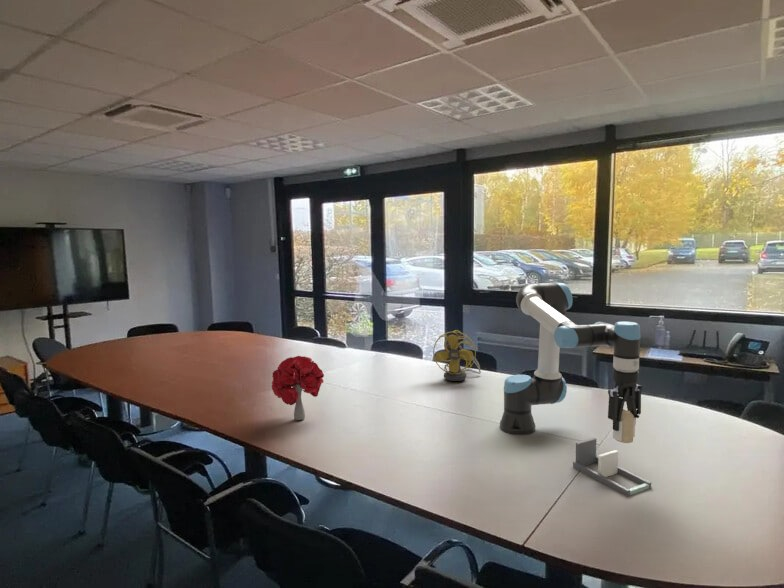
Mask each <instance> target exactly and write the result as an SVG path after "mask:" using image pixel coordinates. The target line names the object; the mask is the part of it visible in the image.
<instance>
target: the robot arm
mask: <svg viewBox="0 0 784 588" xmlns="http://www.w3.org/2000/svg"><path fill="white" fill-rule="evenodd" d="M515 300H516V301H515V302H516V305H517V308H518V309H519V310H520V311H521V312H522V313H523V314H525V315H526V316H531V317H532V318H533V319H534V320H536V321H537V322H538V323H539V337H538V338H539V339H538V357H537V358H538V359H537V369H536V370H534V372H533V377H531V375H527V374H513V375H510V376H507V377H506V378H505V380H504V384H503V412H502V416H501V419H500V422H499V429H500V430H501V431H502V432H504V433H507V434H510V435H515V436H526V435H531V434H533V433H535V432H536V423H535V420H534V417H533V414H532V406H536V405H537V406H540V405H554V404H557V403H561V402H563V401H564V400H565V399H566V396H567V392H568V391H567V389H568V387H567V385H566V384H567V382H566V380H565V378H564V377H563V376H562V375H563V374H562V373H560V371H559V366H560V353H561V352H560V350H561V349H573V348H574V349H575V348H585V347H586V348H587V347H589V348H590V347H601V346H602V347H603V346H605V347H610V348H612V349H613V361H612V362H613V363H612V367H613V369H612V379H613V380H614V382H615V384H614V387H613V389H608V391H607V393H608V410H607V419H609V420H610V421H612V430H613V431H612V439H613V440H615V439H616V440H615V441H617V440H619V441H622V421H620V420H621V416H622V411H623V409H624V406H625V403H626V408H627V411H630V412H631V413H632V414H633V415H634V430H633V438H635V437H636V436H635V435H636V434H635V433H636V425H637V424H636V422H637V421H636V420H637V419H639V418H640V415H641V413H642V390H643V385H640V384H638V383H639V382H640V381H639V379H640V372H639V370H640V353H641V338H642V335H641V325H640V324H639V323H637V322H635V321H624V320H623V321H617V322H615V323H614V324H613V323H608V322H606V321H604V322H603V321H596V322H594V323H593V324H576V323H575V322H574V321H572V320H571V319H569V318H568V317H566V314H567V313H566V312H567V310H569V309H571V308H572V306H573V301H574V300H573V294H572V292H571V289H570V288H569V286H568V285H567V284H566V283H563V282H555V281H554V282H543V283H542V282H541V283H529V284H526V285H524V286H523V287H522V288H520V289H519V291H518V292H517V294H516V297H515ZM619 441H618V442H619Z"/></svg>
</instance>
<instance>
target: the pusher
mask: <svg viewBox="0 0 784 588" xmlns="http://www.w3.org/2000/svg"><path fill="white" fill-rule="evenodd" d="M597 456H598V463H597V473H599V474H601V475H603V476H605V477H607V478H608V477H611V476H613V475H617V474H618V473H617V470H618V466H619V465H618V464H619V451H618V450H616V449H614V450H611V451H607V452H604V453H600V454H598V455H597Z"/></svg>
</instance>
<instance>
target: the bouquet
mask: <svg viewBox="0 0 784 588" xmlns="http://www.w3.org/2000/svg"><path fill="white" fill-rule="evenodd" d="M324 377H325V374H324V372H323V369H321V368H320V367H319V366H318V363H316V362H315V361H314V360H313V359H312V358H311V357H307V356H301V355H297V356H290V357H287V358H285V359H284V360H283V361H281V363H279V364H278V366H277V369H275V370H273V372H272V381H271V389H272V392H273V394H274V395H275V396H276V397H277V398H278V399H281V401H282V402H283V403H284V404H285V405H289V406H294V410H293V419H294V420H296V421H300V420H304V419H305V418H306V412H305V408H304V405H303V401H302V392H303V393H306V394H309V395H311V396H313V397H315V398H317V397H318V396H319V392H320V389H321V387H322V384H323V383H324V379H323V378H324Z"/></svg>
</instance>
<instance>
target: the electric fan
mask: <svg viewBox="0 0 784 588" xmlns="http://www.w3.org/2000/svg"><path fill="white" fill-rule="evenodd" d="M450 333H452V334H450ZM453 333H454V334H453ZM447 334H450V335H447ZM455 334H456V335H455ZM441 338H446V339H445V340H444V344H443V347H444V350H442V351H437V352H435V348H436V345H437V343H438V341H439V340H440V339H441ZM467 338H468V340H469V341H468V340H466V339H467ZM459 340H462V341H459ZM447 342H448V343H447ZM461 344H466V345H468V347H470V348H473V349H474V353H473V351H471V350H468V349H463V347H462V345H461ZM432 349H433V350H432V352H433V353H432V354H433V355H432V356H433V358H434V359H433V362H435V363H436V365H437V366H438V367H439V368H440V369H441V370H442V371H443V372H444V373H443V378H444V379H445V380H447V381H453V382H457V381H459V382H460V381H464V380H466V378H467V373H466V372H472V373H475V374H478V375H481V374H482V371H481V365H480V363H479V361H478V359H477V358H476V357H477V355H476V354H477V353H476V352H477V349H476V345H475V343H474V342H473V340H472V339H471V338H470V337H469V336H468V335H467V334H465V333H463V332H462V331H460V330H458V329H455V330H453V331H448V332H445V333H443V334H441V335H439V336H438V338H437V340H436V341H435V343H434V346H433V348H432ZM461 360H463V361H465V366H464V367H463V368H461V363H460V362H461ZM438 362H441V363H442V362H445V363H446V364H445V365H444V368H443V367H441V366H440V365H439V364H438ZM474 364H475V366H476V367H477V370H478V371H476V370H473V369H471V368H472V366H473V365H474ZM447 367H448V369H447Z"/></svg>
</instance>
